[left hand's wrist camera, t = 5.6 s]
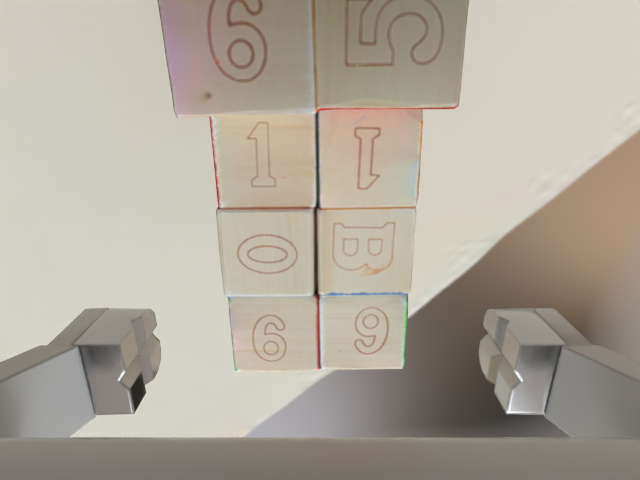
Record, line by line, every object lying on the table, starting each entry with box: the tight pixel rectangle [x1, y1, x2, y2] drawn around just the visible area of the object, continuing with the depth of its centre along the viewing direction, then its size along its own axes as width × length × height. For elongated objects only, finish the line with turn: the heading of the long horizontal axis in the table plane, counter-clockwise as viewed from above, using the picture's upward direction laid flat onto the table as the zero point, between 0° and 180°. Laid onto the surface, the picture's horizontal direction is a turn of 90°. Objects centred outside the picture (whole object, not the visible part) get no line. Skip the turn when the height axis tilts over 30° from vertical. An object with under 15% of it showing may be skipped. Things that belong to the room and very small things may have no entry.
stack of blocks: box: [158, 0, 469, 372], centre depth 14 cm, size 21×6×12 cm, turn 0°
